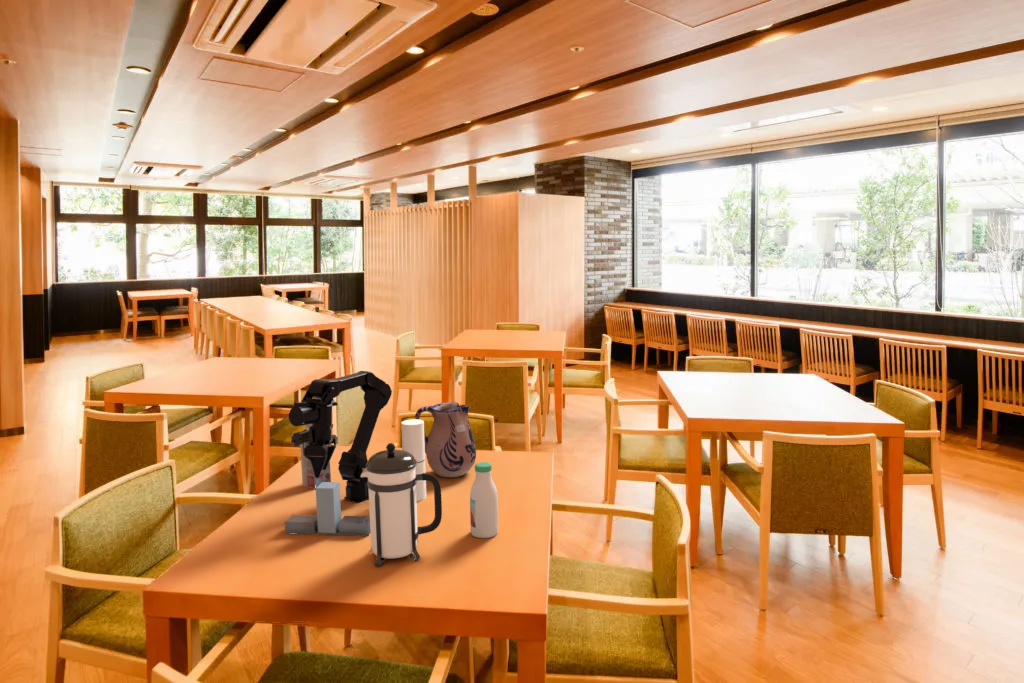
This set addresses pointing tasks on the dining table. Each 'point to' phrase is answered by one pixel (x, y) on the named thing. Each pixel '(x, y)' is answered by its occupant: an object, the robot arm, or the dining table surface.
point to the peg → (328, 507)
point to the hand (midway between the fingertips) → (320, 473)
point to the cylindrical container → (415, 450)
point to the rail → (346, 527)
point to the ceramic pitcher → (449, 440)
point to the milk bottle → (483, 503)
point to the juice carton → (307, 469)
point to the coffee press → (396, 504)
